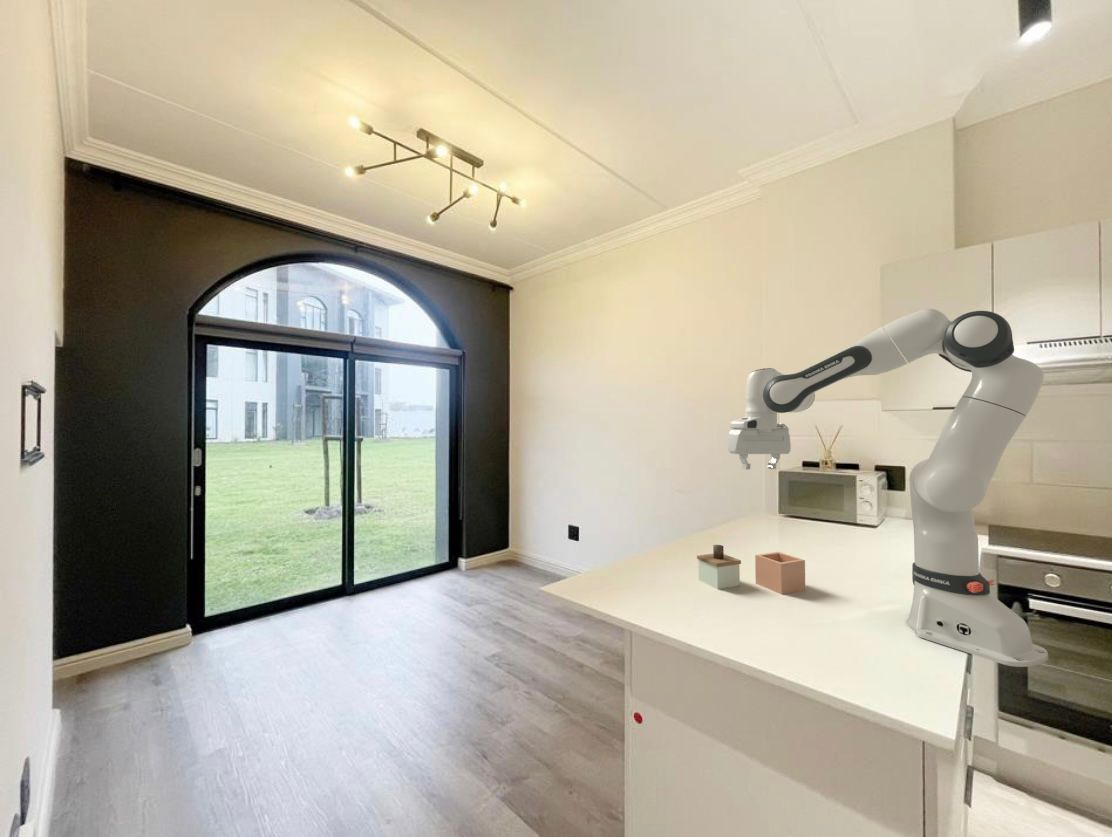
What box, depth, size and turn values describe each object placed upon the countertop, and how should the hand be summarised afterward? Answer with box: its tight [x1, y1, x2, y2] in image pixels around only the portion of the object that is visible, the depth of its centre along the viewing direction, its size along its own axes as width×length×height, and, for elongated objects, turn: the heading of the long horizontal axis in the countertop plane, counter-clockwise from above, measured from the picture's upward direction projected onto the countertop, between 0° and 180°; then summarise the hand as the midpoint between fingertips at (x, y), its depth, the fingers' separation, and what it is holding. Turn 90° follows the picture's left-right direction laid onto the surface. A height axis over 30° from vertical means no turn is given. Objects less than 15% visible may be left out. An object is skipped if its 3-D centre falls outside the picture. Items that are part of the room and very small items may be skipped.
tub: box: [698, 560, 741, 590], centre depth 129 cm, size 8×8×7 cm
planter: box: [754, 551, 806, 595], centre depth 126 cm, size 9×9×9 cm
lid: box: [696, 544, 742, 567], centre depth 129 cm, size 9×9×4 cm
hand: (759, 469), depth 132 cm, fingers open, 8 cm apart
